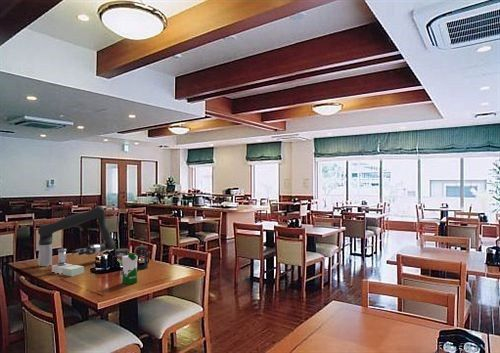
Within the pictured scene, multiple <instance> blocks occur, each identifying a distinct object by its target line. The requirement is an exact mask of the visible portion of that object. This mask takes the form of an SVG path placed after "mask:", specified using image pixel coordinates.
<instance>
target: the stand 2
mask: <svg viewBox="0 0 500 353" xmlns="http://www.w3.org/2000/svg"><path fill="white" fill-rule="evenodd" d="M82 273H83V274H84V273H85V266H83V265H77V264H74V265H73V266H69V267H65V268H63V274H62V275H64V276H69V277H74V276H78V275H82Z"/></svg>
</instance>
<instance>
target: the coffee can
mask: <svg viewBox="0 0 500 353" xmlns="http://www.w3.org/2000/svg"><path fill="white" fill-rule="evenodd" d="M129 250H130V249H129V248H127V247H126V248H123V247H122V248H115V249H114V258H115V257H116V258H117V261H118V262H119V263H120V264H121V265H122V266H123V262H122V256H127V255H128V254H129V252H130V251H129Z"/></svg>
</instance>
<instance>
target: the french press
mask: <svg viewBox="0 0 500 353" xmlns="http://www.w3.org/2000/svg"><path fill="white" fill-rule="evenodd" d="M138 240H139V241H140V242H143V240H145V238H139V239H138ZM148 247H149V246H148V245H138V246H137V245H136V247H135V248H136V250H140V251H138V252H135V255H136V256H138V259H137V271H139V270H147V269H149V264H150V251H146V250H148ZM143 256H144V257H143ZM140 257H141V258H140Z"/></svg>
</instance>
